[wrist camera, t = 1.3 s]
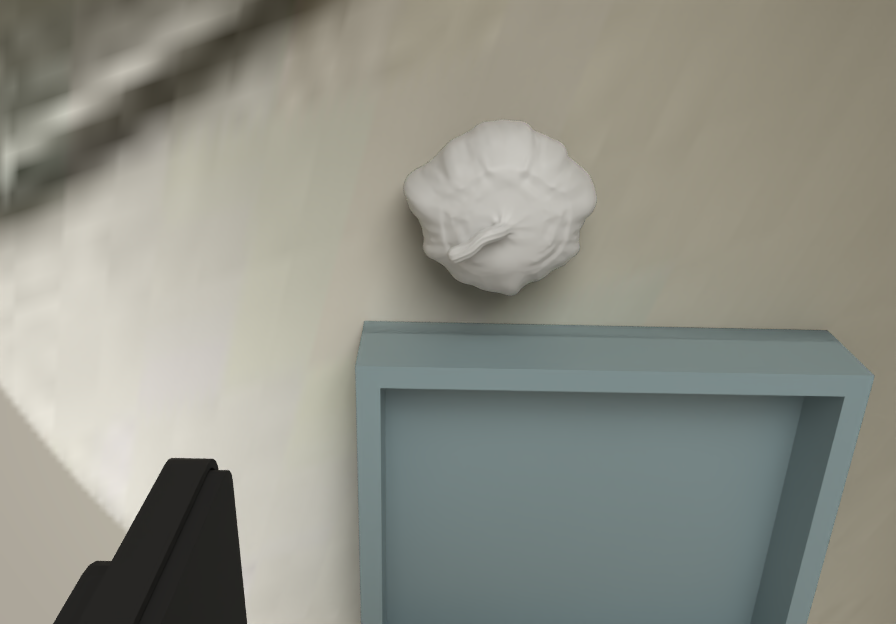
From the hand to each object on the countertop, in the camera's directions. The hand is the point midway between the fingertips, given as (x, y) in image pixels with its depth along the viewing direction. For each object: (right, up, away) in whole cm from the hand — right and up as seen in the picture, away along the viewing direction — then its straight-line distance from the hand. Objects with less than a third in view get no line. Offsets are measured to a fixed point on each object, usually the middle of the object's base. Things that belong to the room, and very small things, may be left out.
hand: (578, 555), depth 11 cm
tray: (+4, -4, +22) cm, 22 cm away
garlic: (0, +8, +17) cm, 18 cm away
